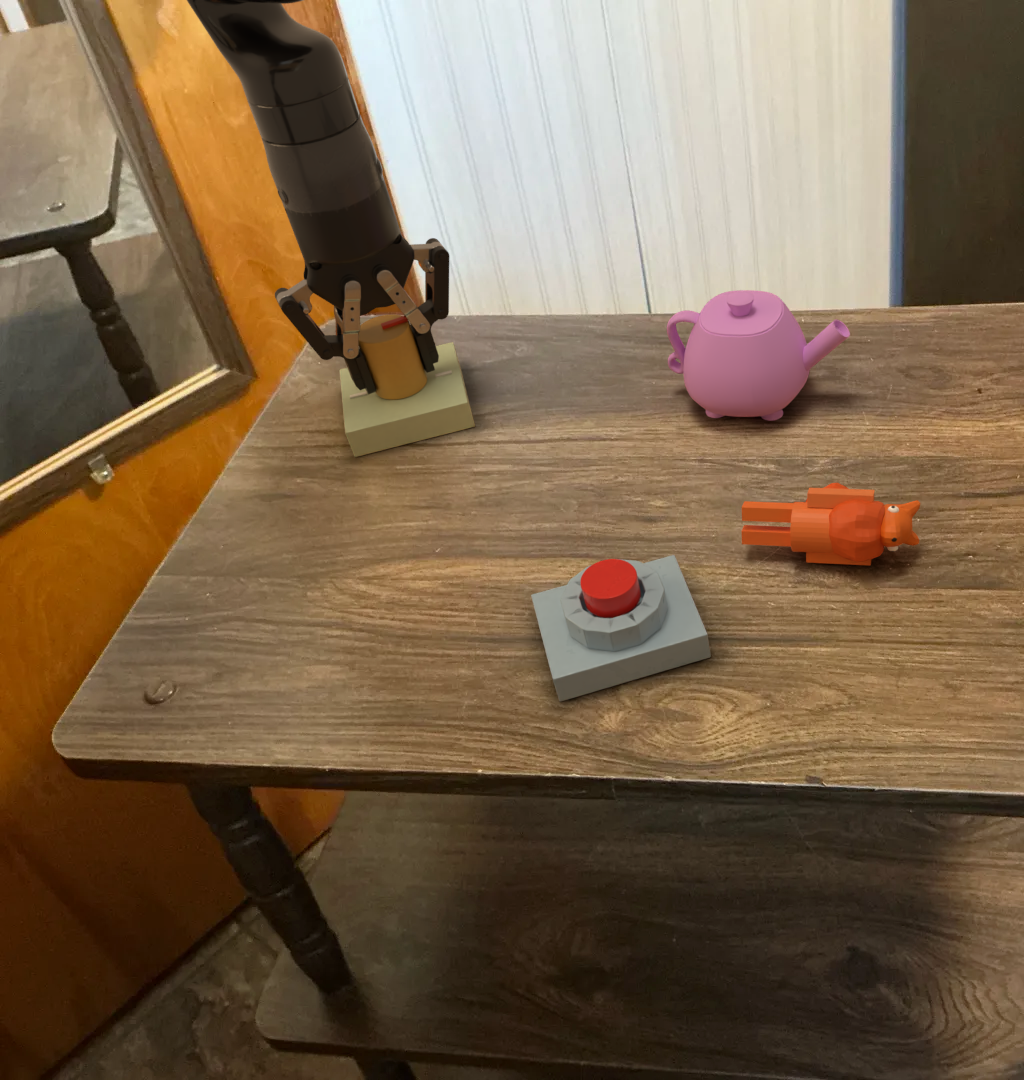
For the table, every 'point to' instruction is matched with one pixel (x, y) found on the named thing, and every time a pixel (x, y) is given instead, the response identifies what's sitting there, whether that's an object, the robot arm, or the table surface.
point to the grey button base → (620, 632)
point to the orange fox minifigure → (833, 525)
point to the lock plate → (407, 409)
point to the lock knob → (392, 356)
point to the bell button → (610, 588)
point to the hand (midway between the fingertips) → (398, 377)
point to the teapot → (747, 354)
